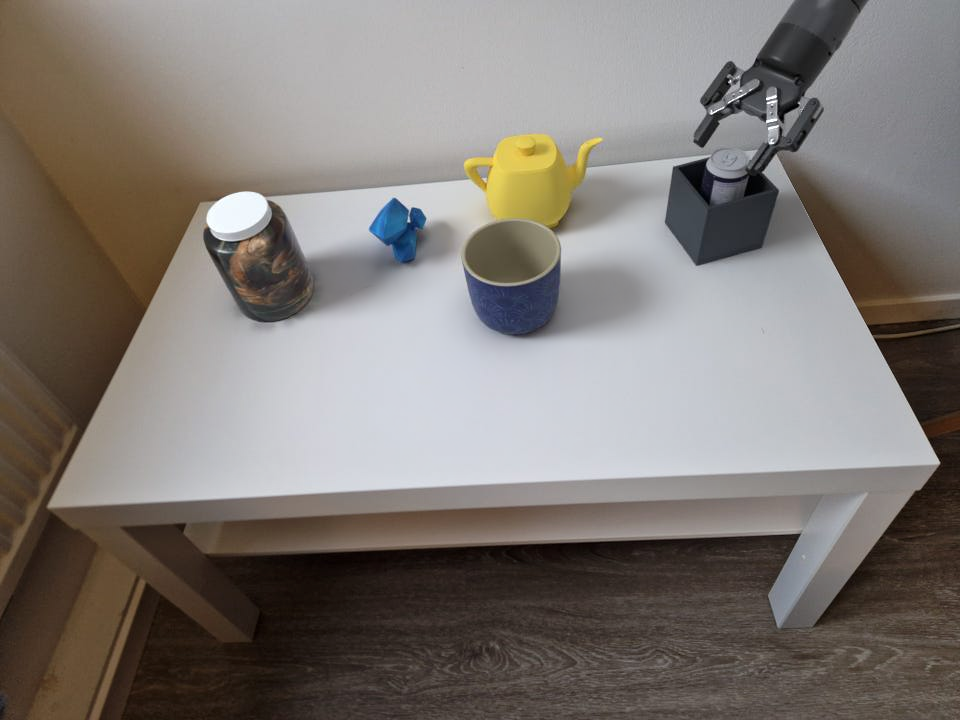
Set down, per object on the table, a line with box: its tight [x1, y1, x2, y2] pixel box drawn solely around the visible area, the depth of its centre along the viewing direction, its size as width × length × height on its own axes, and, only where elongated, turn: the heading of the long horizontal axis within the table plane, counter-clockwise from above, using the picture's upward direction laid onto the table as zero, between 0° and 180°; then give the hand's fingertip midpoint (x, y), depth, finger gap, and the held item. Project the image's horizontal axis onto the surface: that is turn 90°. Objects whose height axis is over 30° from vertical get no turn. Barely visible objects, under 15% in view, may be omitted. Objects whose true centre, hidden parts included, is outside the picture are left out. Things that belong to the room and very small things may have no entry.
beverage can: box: [700, 146, 751, 206], centre depth 90 cm, size 6×6×12 cm
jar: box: [202, 191, 315, 323], centre depth 92 cm, size 12×12×15 cm
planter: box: [460, 218, 562, 335], centre depth 86 cm, size 12×12×11 cm
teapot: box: [463, 133, 603, 229], centre depth 98 cm, size 13×20×12 cm
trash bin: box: [664, 156, 780, 266], centre depth 92 cm, size 10×10×10 cm
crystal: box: [368, 197, 427, 263], centre depth 97 cm, size 7×9×12 cm
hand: (722, 159), depth 85 cm, fingers open, 8 cm apart
